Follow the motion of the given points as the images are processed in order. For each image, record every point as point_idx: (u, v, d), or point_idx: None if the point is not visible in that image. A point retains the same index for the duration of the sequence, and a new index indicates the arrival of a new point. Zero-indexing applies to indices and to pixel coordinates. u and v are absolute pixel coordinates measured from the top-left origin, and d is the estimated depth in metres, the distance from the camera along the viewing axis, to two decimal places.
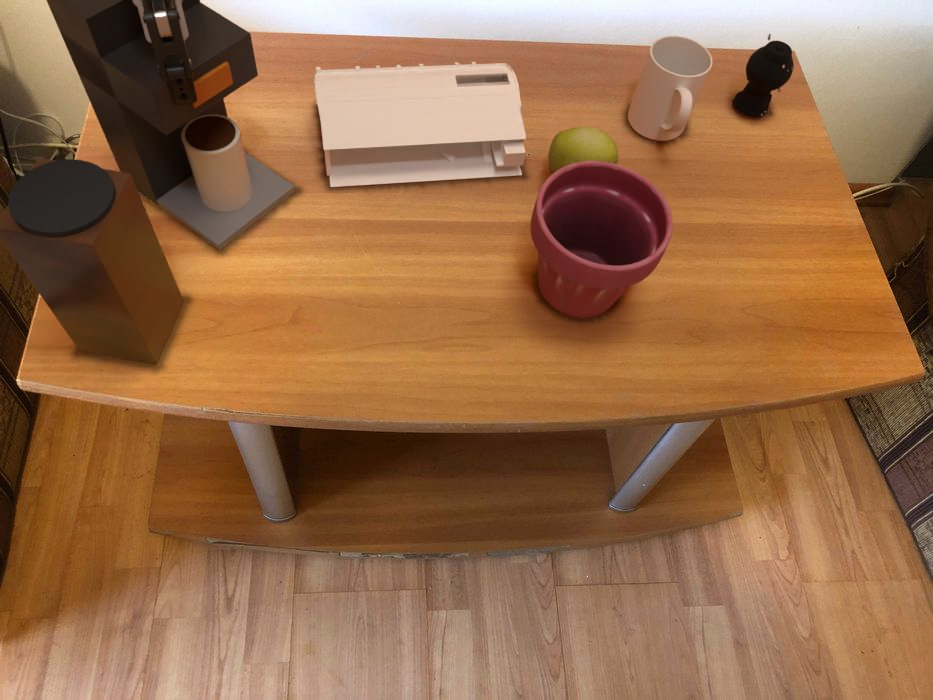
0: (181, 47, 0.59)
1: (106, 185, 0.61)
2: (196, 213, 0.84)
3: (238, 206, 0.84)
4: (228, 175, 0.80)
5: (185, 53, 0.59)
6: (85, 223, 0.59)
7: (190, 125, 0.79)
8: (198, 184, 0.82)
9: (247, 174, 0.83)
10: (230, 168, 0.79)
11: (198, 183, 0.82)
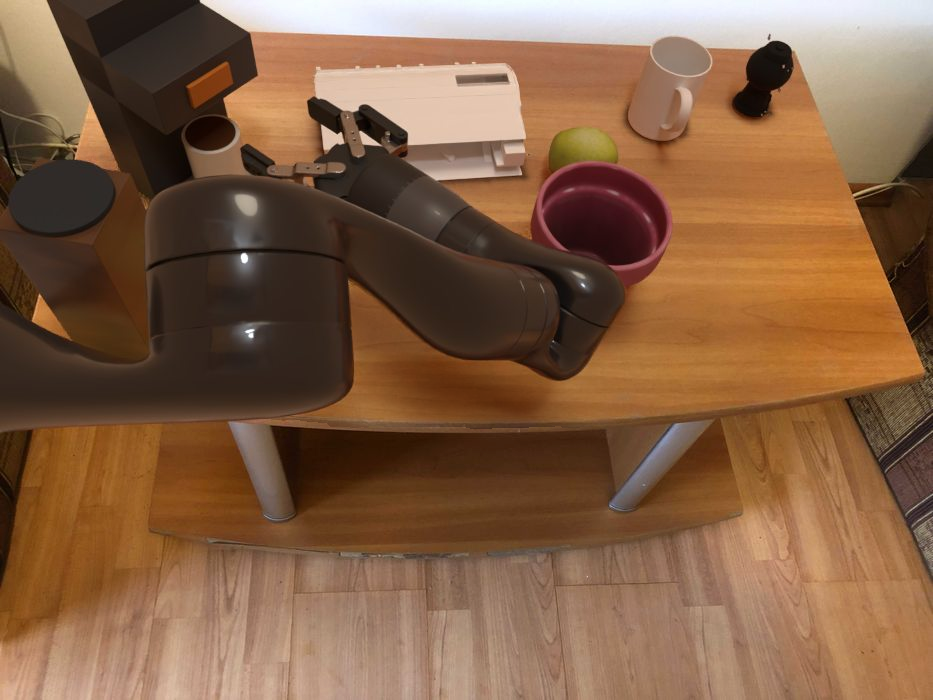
0: None
1: (106, 185, 0.61)
2: None
3: None
4: None
5: None
6: (85, 223, 0.59)
7: (190, 125, 0.79)
8: None
9: (247, 174, 0.83)
10: (230, 168, 0.79)
11: None
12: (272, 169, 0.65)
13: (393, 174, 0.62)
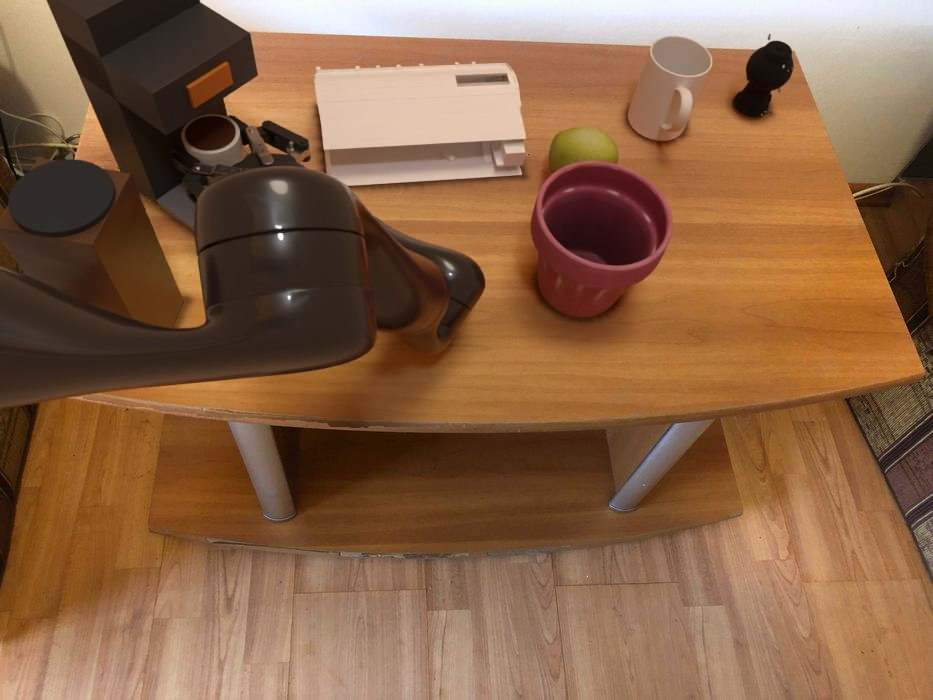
0: None
1: (106, 185, 0.61)
2: None
3: None
4: None
5: None
6: (85, 223, 0.59)
7: (190, 125, 0.79)
8: None
9: None
10: None
11: None
12: (196, 166, 0.77)
13: None
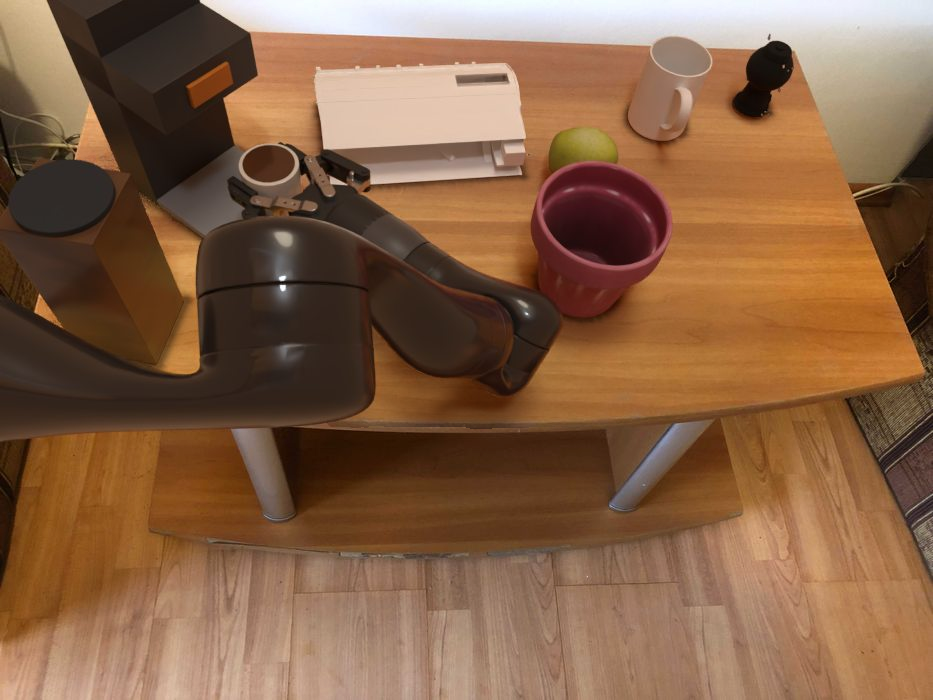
0: None
1: (106, 185, 0.61)
2: (196, 213, 0.84)
3: None
4: None
5: None
6: (85, 223, 0.59)
7: (247, 155, 0.75)
8: None
9: None
10: None
11: None
12: (255, 199, 0.73)
13: (359, 214, 0.70)
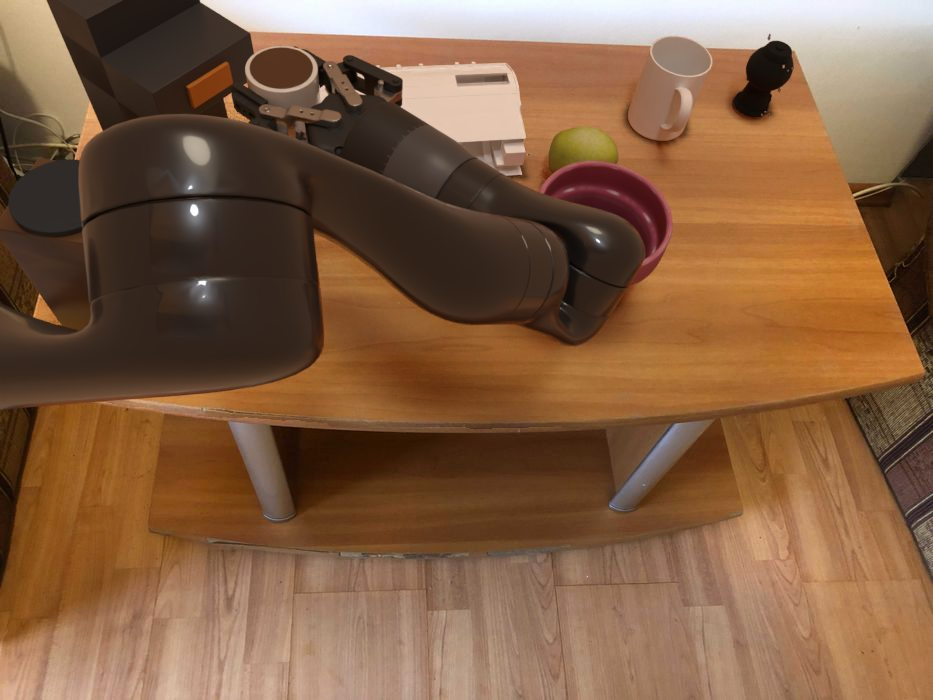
0: None
1: None
2: None
3: None
4: (301, 123, 0.64)
5: None
6: None
7: (255, 58, 0.62)
8: None
9: None
10: None
11: None
12: (264, 108, 0.60)
13: (393, 122, 0.57)
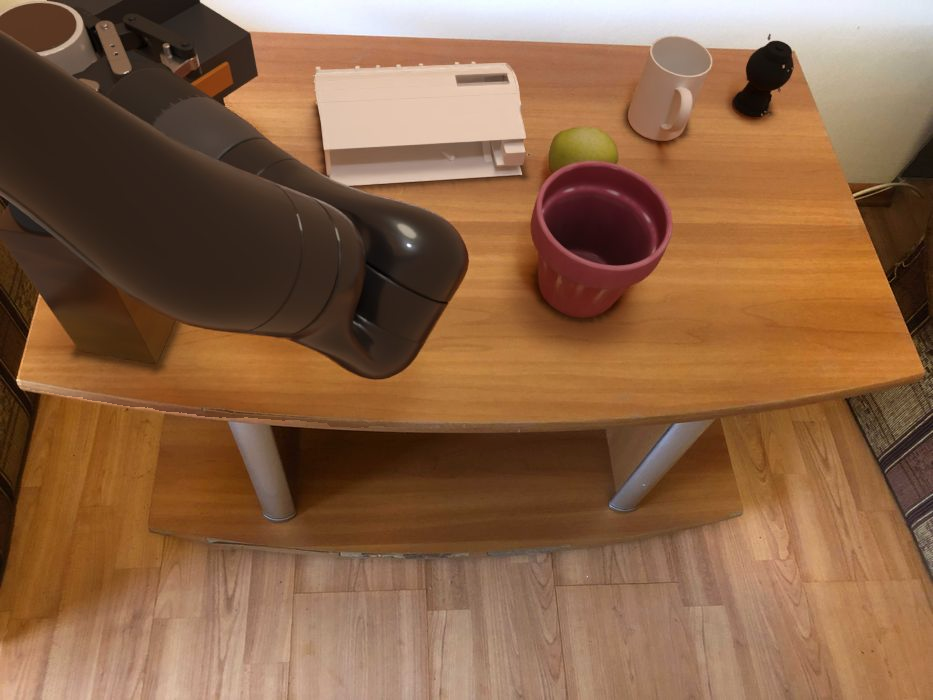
0: None
1: None
2: None
3: None
4: None
5: None
6: None
7: (3, 15, 0.50)
8: None
9: None
10: None
11: None
12: None
13: (152, 93, 0.45)
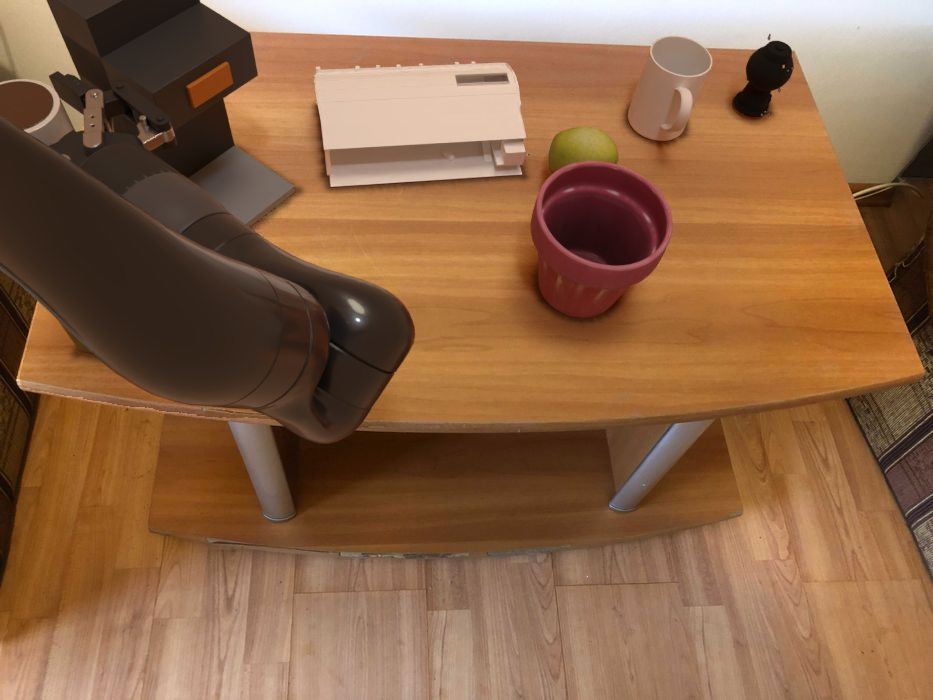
0: None
1: None
2: None
3: None
4: None
5: None
6: None
7: None
8: None
9: None
10: None
11: None
12: None
13: (118, 170, 0.47)
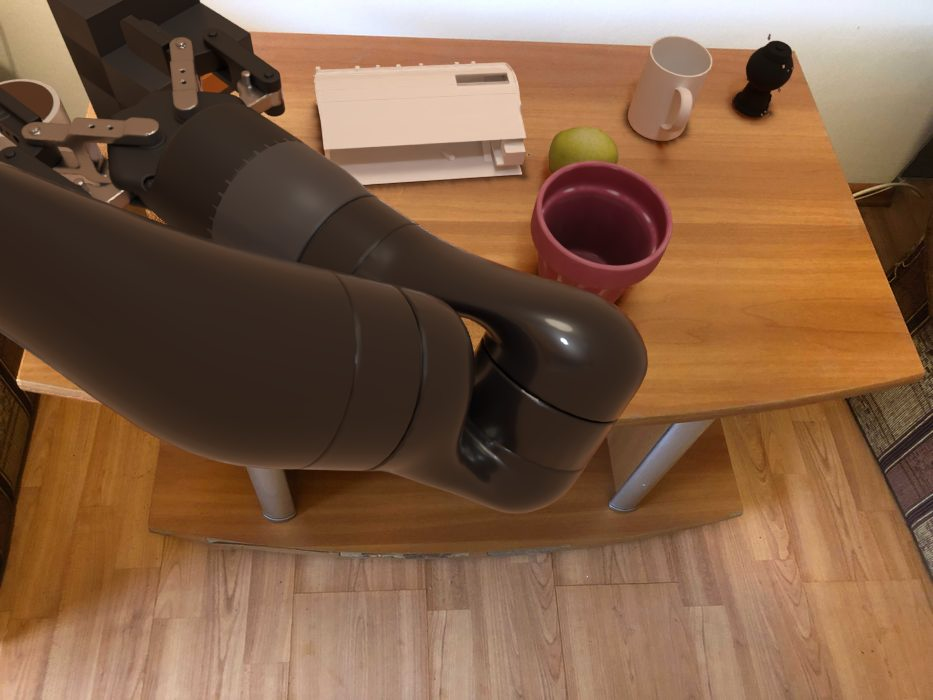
0: None
1: None
2: None
3: None
4: None
5: None
6: None
7: None
8: None
9: None
10: None
11: None
12: (30, 129, 0.37)
13: (231, 137, 0.35)
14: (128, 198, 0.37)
